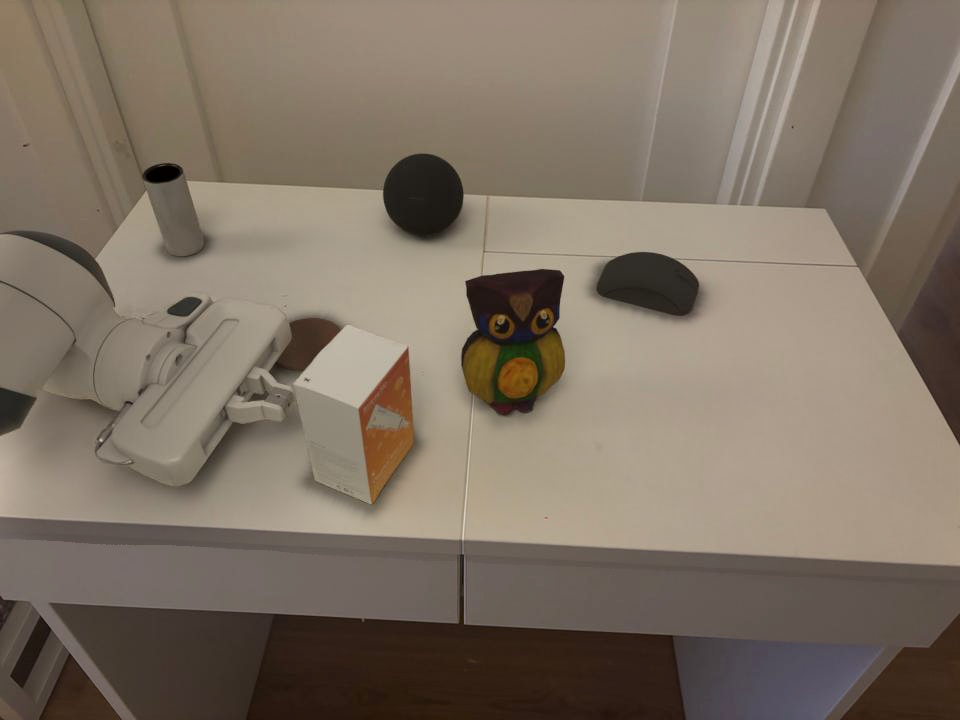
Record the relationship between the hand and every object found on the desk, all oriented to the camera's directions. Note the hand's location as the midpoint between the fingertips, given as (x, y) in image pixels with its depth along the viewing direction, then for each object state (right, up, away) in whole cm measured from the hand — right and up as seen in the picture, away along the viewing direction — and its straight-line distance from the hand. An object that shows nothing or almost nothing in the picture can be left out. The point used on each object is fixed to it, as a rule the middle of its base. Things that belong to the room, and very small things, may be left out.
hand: (289, 405), depth 67 cm
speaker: (+10, +21, +29) cm, 37 cm away
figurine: (+20, 0, +9) cm, 22 cm away
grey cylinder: (-19, +18, +26) cm, 37 cm away
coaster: (-1, +6, +14) cm, 15 cm away
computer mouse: (+37, +12, +21) cm, 44 cm away
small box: (+7, -6, +3) cm, 9 cm away
